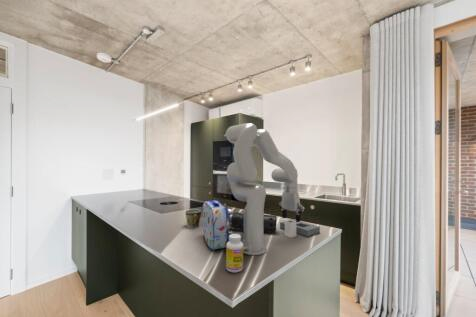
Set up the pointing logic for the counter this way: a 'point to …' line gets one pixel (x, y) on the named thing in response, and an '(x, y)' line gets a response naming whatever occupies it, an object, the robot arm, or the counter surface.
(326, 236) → the counter surface
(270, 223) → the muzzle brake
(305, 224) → the outlet box
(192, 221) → the olive green tapered container
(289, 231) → the charger
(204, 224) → the lunch box
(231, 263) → the supplement bottle
